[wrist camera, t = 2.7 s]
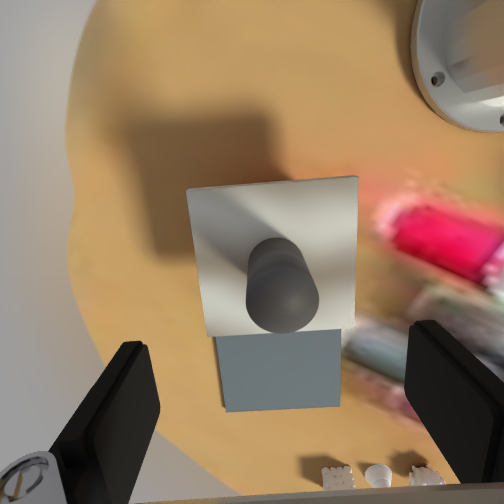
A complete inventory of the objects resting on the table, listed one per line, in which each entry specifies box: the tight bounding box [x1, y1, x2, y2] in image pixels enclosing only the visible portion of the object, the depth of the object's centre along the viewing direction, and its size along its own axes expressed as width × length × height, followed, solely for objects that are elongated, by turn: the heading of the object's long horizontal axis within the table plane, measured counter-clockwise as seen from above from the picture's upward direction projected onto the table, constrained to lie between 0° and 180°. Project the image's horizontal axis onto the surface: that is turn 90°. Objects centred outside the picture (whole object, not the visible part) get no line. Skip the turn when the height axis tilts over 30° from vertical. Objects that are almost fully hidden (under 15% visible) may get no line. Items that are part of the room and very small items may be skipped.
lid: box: [186, 175, 359, 337], centre depth 17 cm, size 10×10×6 cm
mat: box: [216, 329, 341, 412], centre depth 28 cm, size 11×11×1 cm
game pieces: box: [322, 464, 446, 491], centre depth 31 cm, size 12×3×3 cm, turn 97°
